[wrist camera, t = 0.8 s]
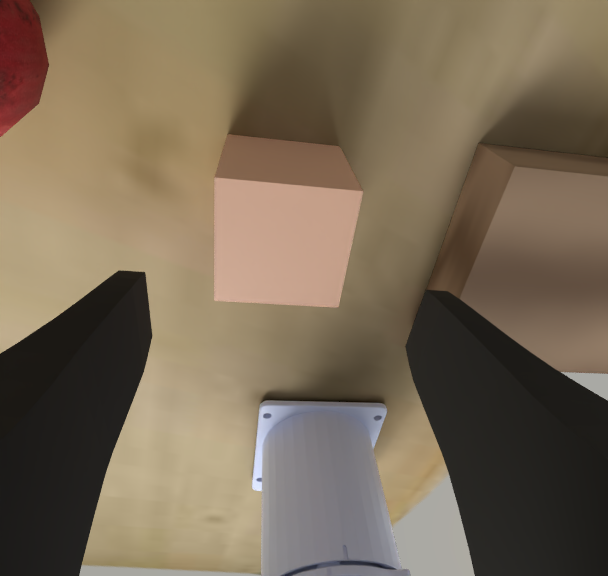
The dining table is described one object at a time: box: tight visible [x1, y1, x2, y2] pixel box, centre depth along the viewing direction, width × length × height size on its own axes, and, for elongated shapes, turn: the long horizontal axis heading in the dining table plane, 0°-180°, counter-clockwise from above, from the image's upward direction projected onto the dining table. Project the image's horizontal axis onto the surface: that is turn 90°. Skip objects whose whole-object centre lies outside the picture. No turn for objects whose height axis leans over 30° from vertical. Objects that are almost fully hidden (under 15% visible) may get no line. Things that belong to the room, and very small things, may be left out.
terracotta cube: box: [214, 134, 363, 308], centre depth 16 cm, size 4×4×5 cm
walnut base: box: [426, 143, 608, 374], centre depth 19 cm, size 10×10×3 cm
